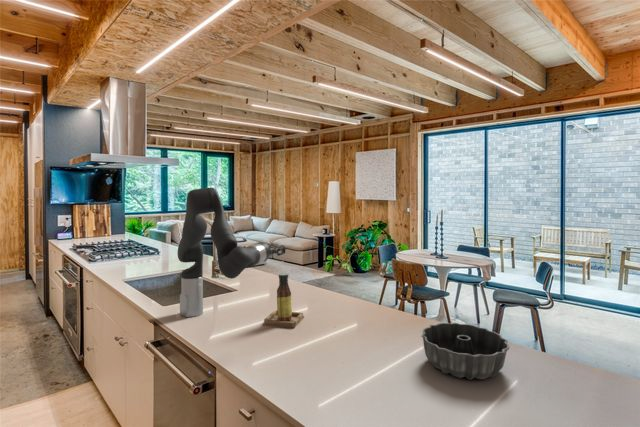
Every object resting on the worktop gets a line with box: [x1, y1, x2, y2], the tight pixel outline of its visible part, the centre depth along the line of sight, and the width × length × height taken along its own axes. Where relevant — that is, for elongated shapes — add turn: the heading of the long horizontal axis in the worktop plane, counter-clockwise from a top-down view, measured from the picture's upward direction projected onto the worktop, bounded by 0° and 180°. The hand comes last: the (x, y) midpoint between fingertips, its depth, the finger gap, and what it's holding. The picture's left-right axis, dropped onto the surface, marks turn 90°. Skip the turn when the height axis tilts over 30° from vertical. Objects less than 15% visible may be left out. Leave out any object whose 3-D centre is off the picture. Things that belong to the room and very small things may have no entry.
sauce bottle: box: [276, 272, 293, 321], centre depth 161 cm, size 7×6×20 cm
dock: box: [262, 309, 305, 329], centre depth 162 cm, size 14×14×2 cm
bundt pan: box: [421, 322, 510, 381], centre depth 120 cm, size 26×26×10 cm
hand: (272, 247), depth 150 cm, fingers open, 8 cm apart
